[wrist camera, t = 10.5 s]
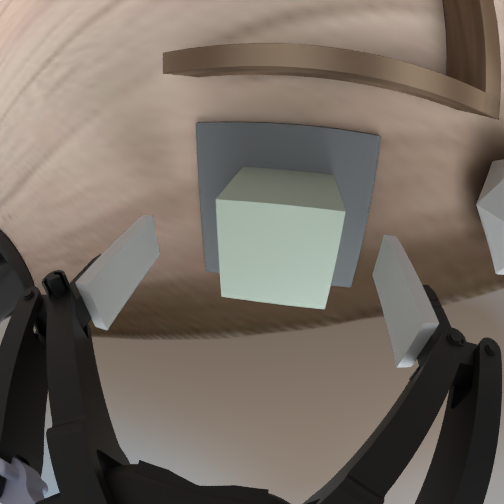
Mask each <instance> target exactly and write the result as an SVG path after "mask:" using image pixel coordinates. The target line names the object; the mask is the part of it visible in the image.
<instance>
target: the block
mask: <svg viewBox="0 0 504 504" xmlns="http://www.w3.org/2000/svg"><path fill="white" fill-rule="evenodd" d="M216 216H217V235H218V252H219V268H220V283H221V296H222V297H228V298H235V299H242V300H250V301H257V302H265V303H273V304H281V305H290V306H299V307H308V308H318V309H325V306H326V302H327V298H328V294H329V290H330V286H331V281H332V277H333V273H334V268H335V263H336V259H337V254H338V249H339V244H340V239H341V234H342V229H343V223H344V217H345V208H344V205H343V202H342V199H341V196H340V192H339V189H338V186H337V183H336V180H335V177H334V175H329V174H321V173H312V172H302V171H292V170H281V169H268V168H252V167H242V168H241V170H240V171H239V172H238V173H237V174H236V175H235V177H234V178H233V179H232V180H231V181H230V183H229V184H228V185H227V186H226V187H225V189H224V190H223V191H222V192H221V193H220V195H219V196H218V197H217V198H216Z"/></svg>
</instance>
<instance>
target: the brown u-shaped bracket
mask: <svg viewBox="0 0 504 504" xmlns="http://www.w3.org/2000/svg"><path fill="white" fill-rule="evenodd" d="M443 6H444V15H445V26H446V44H447V76H446V75H443V74H441V73H438V72H435V71H432V70H429V69H426V68H423V67H420V66H417V65H413V64H410V63H407V62H403V61H399V60H395V59H391V58H387V57H383V56H379V55H374V54H369V53H364V52H359V51H353V50H347V49H340V48H332V47H324V46H314V45H302V44H281V43H248V44H228V45H216V46H206V47H197V48H190V49H183V50H177V51H171V52H165V53H163V74H174V75H184V76H193V77H205V76H219V75H246V74H265V75H292V76H306V77H317V78H326V79H334V80H342V81H348V82H355V83H360V84H366V85H371V86H376V87H381V88H386V89H390V90H394V91H398V92H402V93H406V94H410V95H414V96H417V97H421V98H424V99H427V100H431V101H434V102H437V103H440V104H443V105H446V106H449V107H451V108H454V109H457V110H461V111H465V112H470V113H474V114H479V115H483V116H487V117H490V118H494V119H498V120H499V110H500V94H501V60H500V44H499V34H498V26H497V19H496V12H495V7H494V2H493V0H443Z"/></svg>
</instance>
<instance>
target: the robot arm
mask: <svg viewBox="0 0 504 504" xmlns="http://www.w3.org/2000/svg"><path fill="white" fill-rule="evenodd" d="M159 256H160V252H159V247H158V241H157V236H156V230H155V224H154V218H153V215H142V216H141V217H139V218H138V219H137V220H136V221H135V222H134V223H133V224H132V225H131V226H130V227H129V228H128V229H127V230H126V231H125V232H124V233H123V234H122V235H120V236H119V237H118V238H117V239H116V240H115V241H114V242H113V243H112V244H111V245H110V246H109V247H108V248H107V249H106V250H105V251H104V252H103V253H102V254H100V255H98V256H97V257H95V258H94V259H92V260H91V261H90V262H89V263H88V265H87V266H86V267H85V268H84V269H83V271H81V272H80V273H79V274H78V275H77V276H76V277H75V278H74V279H73V281H72V282H71V283H70V284H69V282H68V280H67V277H66V275H65V272H63V271H61V270H57V271H53V272H51V273H49V274H48V275H46V276H45V278H44V279H43V280H42V285H43V287H44V289H45V291H46V293H47V295H41V293H40V291H39V289H38V288H37V287H34V284H33V281H32V279H31V276H30V274H29V272H28V270H27V268H26V266H25V264H24V262H23V260H22V258H21V257H20V255H19V253H18V252H17V250H16V249H15V247H14V246H13V244H12V243H11V242H10V240H9V239H8V238H7V237H6V236H5V235H4V234H3V233H2V232H1V231H0V323H1V322H2V321H3V320H5V319H7V318H9V317H11V319H10V321H9V323H8V326H7V328H6V331H5V334H4V337H3V339H2V342H1V345H0V502H1V503H2V504H290V503H289V502H287V501H285V500H284V499H282V498H280V497H277V496H275V495H272V494H269V493H268V490H267V489H257V488H249V487H242V486H235V485H234V486H233V485H232V486H199V485H196V484H194V483H192V482H190V481H188V480H186V479H184V478H182V477H180V476H178V475H176V474H174V473H173V472H171V471H170V470H167V469H164V468H161V467H158V466H155V465H152V464H149V463H146V462H144V461H141V460H139V463H138V464H130V463H129V461H128V459H127V457H126V455H125V454H124V452H123V451H122V450H121V448H120V446H119V444H118V441H117V438H116V435H115V433H114V429H113V426H112V423H111V420H110V417H109V413H108V410H107V407H106V403H105V399H104V395H103V391H102V387H101V383H100V379H99V374H98V370H97V365H96V360H95V355H94V349H93V343H92V337H91V331H90V327H89V325H88V322H89V321H90V319H92V321H93V323H94V325H95V327H98V328H101V329H105V330H108V328H109V327H110V325H111V324H112V322H113V321H114V319H115V318H116V316H117V315H118V313H119V312H120V310H121V309H122V307H123V306H124V305H125V303H126V302H127V300H128V299H129V297H130V296H131V294H132V293H133V292H134V290H135V289H136V287H137V286H138V284H139V283H140V282H141V280H142V279H143V277H144V276H145V275H146V273H147V272H148V271H149V269H150V268H151V266H152V265H153V264H154V262H155V261H156V260H157V258H158V257H159ZM373 279H374V282H375V285H376V288H377V292H378V295H379V298H380V302H381V305H382V309H383V313H384V316H385V320H386V324H387V328H388V331H389V336H390V340H391V344H392V348H393V353H394V357H395V362H396V367H411V366H412V365H413V364H414V362H415V361H416V359H418V363H419V367H418V368H417V369H416V371H415V372H414V373H413V375H412V376H411V378H410V379H409V380H410V381H409V382H408V384H407V386H406V387H405V389H404V390H403V392H402V394H401V395H400V396H399V398H398V399H397V401H396V402H395V404H394V405H393V407H392V408H391V409H390V411H389V412H388V414H387V415H386V416H385V418H384V419H383V420H382V422H381V423H380V424H379V426H378V427H377V428H376V429H375V431H374V432H373V433H372V435H371V436H370V437H369V438H368V439H367V441H366V442H365V443H364V444H363V445H362V447H361V448H360V449H359V450H358V451H357V453H356V454H355V455H354V456H353V457H352V458H351V459H350V460H349V461H348V462H347V464H346V465H345V466H344V467H343V468H342V469H341V470H340V471H339V472H338V473H337V474H336V475H335V476H334V477H333V478H332V479H331V480H330V481H329V482H328V483H327V484H326V485H325V486H324V487H322V488H321V489H320V490H319V491H317V492H316V493H315V494H314V495H312V496H311V497H310V498H309V499H308V500H307V501H305V502H304V503H303V504H383V503H384V497H385V495H386V493H387V492H388V490H389V489H390V488H391V487H392V485H393V484H394V483H395V481H396V480H397V479H398V477H399V476H400V475H401V473H402V472H403V470H404V469H405V468H406V466H407V465H408V463H409V462H410V460H411V459H412V457H413V456H414V454H415V452H416V451H417V449H418V448H419V446H420V444H421V443H422V441H423V439H424V438H425V436H426V434H427V433H428V431H429V429H430V427H431V425H432V423H433V422H434V420H435V418H436V416H437V414H438V412H439V410H440V408H441V406H442V404H443V402H444V400H445V398H446V395H447V393H448V391H449V395H448V400H447V405H446V410H445V415H444V419H443V423H442V428H441V431H440V435H439V439H438V442H437V446H436V449H435V452H434V455H433V459H432V461H431V464H430V467H429V470H428V473H427V476H426V478H425V481H424V483H423V486H422V488H421V491H420V493H419V495H418V498H417V500H416V502H415V504H483V502H484V499H485V495H486V492H487V489H488V485H489V482H490V478H491V473H492V469H493V464H494V459H495V454H496V448H497V442H498V435H499V426H500V416H501V400H502V360H501V350H500V347H499V346H498V344H497V343H496V342H495V341H494V340H492V339H491V338H483V339H482V340H481V341H480V343H479V344H478V345H476V344H473V343H469V342H466V340H465V337H464V336H463V334H462V333H461V332H460V331H458V330H457V329H455V328H451V326H450V323H449V321H448V319H447V316H446V314H445V312H444V310H443V308H442V307H441V304H440V301H438V300H439V299H438V297H437V295H436V293H435V292H434V291H433V290H432V289H431V288H430V286H429V285H422V284H421V282H420V280H419V278H418V276H417V274H416V272H415V270H414V268H413V266H412V264H411V262H410V260H409V258H408V256H407V255H406V253H405V251H404V249H403V247H402V245H401V244H400V242H399V240H398V238H397V237H396V236H393V235H385V234H384V236H383V240H382V243H381V247H380V251H379V254H378V258H377V261H376V265H375V268H374V271H373ZM34 327H35V329H36V332H35V333H34V331H33V328H34ZM48 391H49V401H50V408H51V416H52V428H49V429H47V432H46V436H47V443H48V448H49V453H50V458H51V462H52V466H53V470H54V474H55V478H56V481H57V485H58V488H59V491H60V493H58V494H55V495H53V496H50V497H48V498H44V495H43V494H46V493H47V492H48V487H47V484H46V483H45V482H44V481H42V479H41V473H42V467H43V455H44V427H45V413H46V403H47V394H48Z"/></svg>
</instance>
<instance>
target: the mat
mask: <svg viewBox="0 0 504 504" xmlns="http://www.w3.org/2000/svg"><path fill="white" fill-rule="evenodd" d="M380 139H381V136H379V135H375V134H369V133H363V132H357V131H351V130H344V129H336V128H328V127H320V126H310V125H299V124H286V123H268V122H198V123H196V141H197V161H198V178H199V194H200V207H201V220H202V232H203V243H204V253H205V263H206V271H209V272H217V273H220V268H219V252H218V235H217V216H216V198H217V197H218V196H219V195H220V193H221V192H222V191H223V190H224V189H225V187H226V186H227V185H228V184H229V183H230V181H231V180H232V179H233V178H234V177H235V175H236V174H237V173H238V172H239V171H240V170H241V168H242V167H252V168H268V169H281V170H292V171H302V172H312V173H321V174H329V175H334V177H335V180H336V183H337V186H338V189H339V192H340V196H341V199H342V202H343V205H344V208H345V217H344V223H343V229H342V234H341V239H340V244H339V249H338V254H337V259H336V263H335V268H334V273H333V277H332V281H331V286H341V287H351V284H352V281H353V277H354V273H355V269H356V266H357V262H358V258H359V254H360V250H361V245H362V241H363V237H364V232H365V228H366V223H367V218H368V213H369V208H370V203H371V198H372V193H373V187H374V181H375V175H376V168H377V162H378V155H379V147H380Z"/></svg>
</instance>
